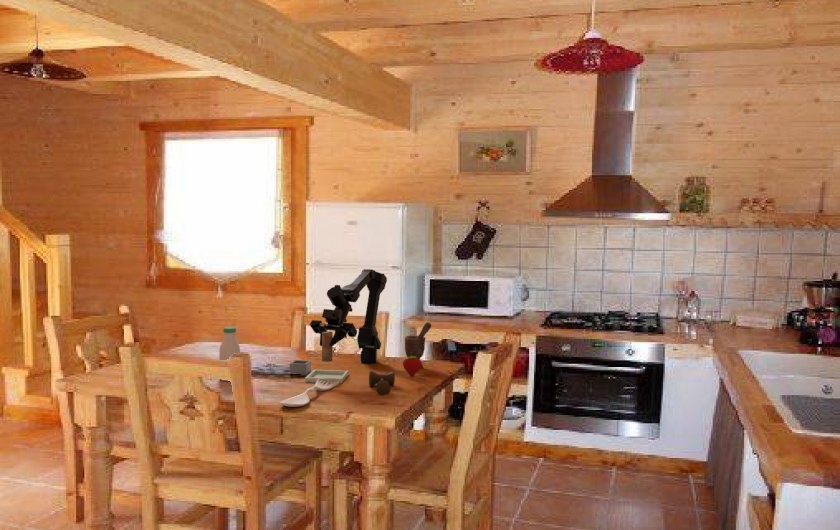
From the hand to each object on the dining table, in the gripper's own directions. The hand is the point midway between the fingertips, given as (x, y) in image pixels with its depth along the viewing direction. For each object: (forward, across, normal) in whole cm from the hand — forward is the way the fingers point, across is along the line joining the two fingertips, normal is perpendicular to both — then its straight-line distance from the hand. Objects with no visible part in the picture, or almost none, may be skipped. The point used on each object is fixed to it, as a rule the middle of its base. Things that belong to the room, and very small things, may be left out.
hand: (325, 345), depth 249 cm
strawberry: (-5, +28, +24) cm, 37 cm away
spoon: (+26, +8, -6) cm, 28 cm away
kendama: (+10, +25, +10) cm, 28 cm away
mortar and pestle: (-16, +23, +35) cm, 45 cm away
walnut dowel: (+3, 0, +5) cm, 6 cm away
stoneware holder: (+7, -14, +12) cm, 20 cm away
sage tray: (+9, 0, +10) cm, 14 cm away
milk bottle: (+20, -34, -1) cm, 39 cm away
